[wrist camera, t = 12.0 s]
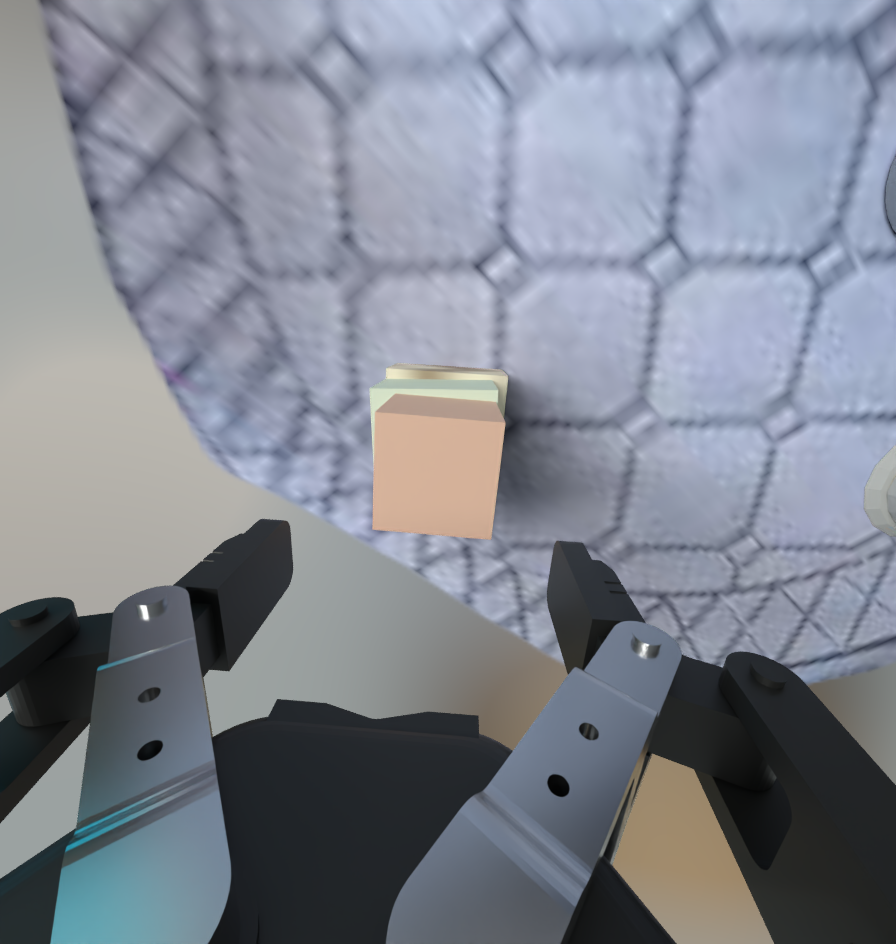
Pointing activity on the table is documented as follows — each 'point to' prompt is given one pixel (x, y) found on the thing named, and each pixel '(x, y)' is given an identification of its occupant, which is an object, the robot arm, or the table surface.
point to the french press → (882, 494)
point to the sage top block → (430, 391)
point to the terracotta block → (437, 465)
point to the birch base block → (452, 376)
